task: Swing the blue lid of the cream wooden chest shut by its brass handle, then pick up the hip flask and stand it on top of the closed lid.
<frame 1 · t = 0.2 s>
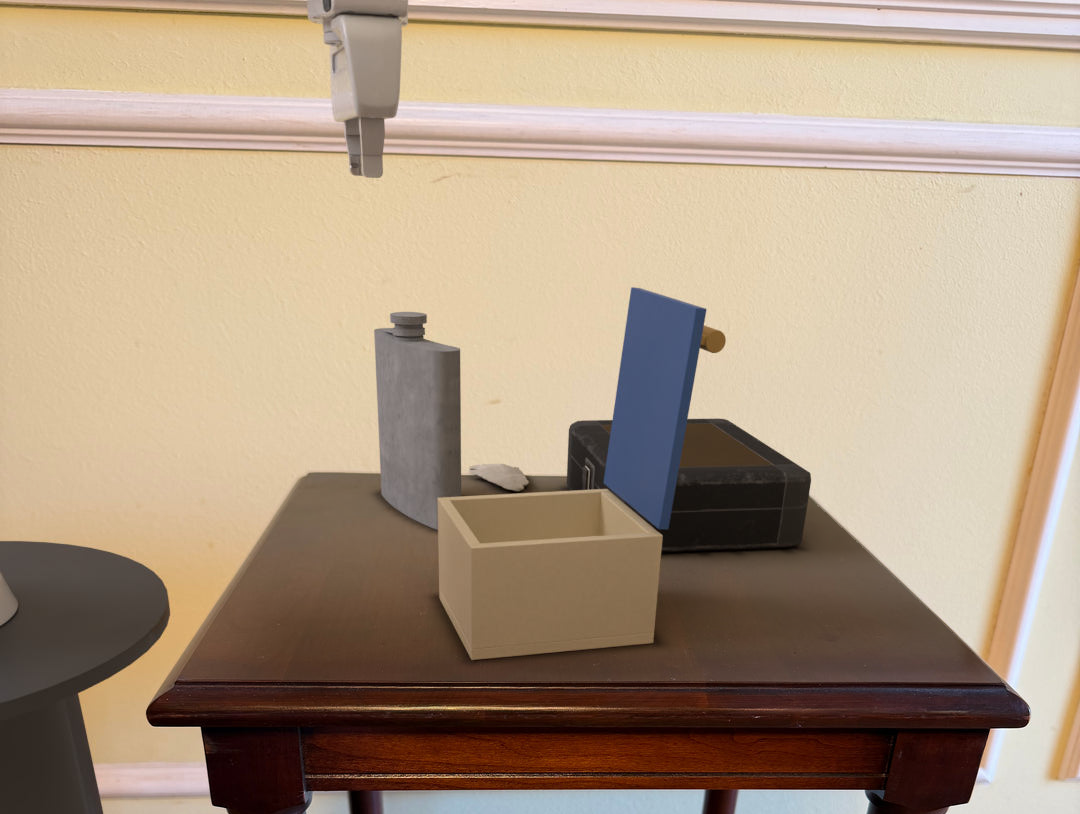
hand: (365, 176, 97), 32 cm above the table, tool pointing down, fingers open, 8 cm apart
chest: (541, 620, 85), on the table
arrowhead: (503, 483, 121), on the table
cash box: (672, 517, 111), on the table
hip flask: (416, 511, 110), on the table
lid: (671, 407, 79), point 17 cm above the table, hinge at 95.0°
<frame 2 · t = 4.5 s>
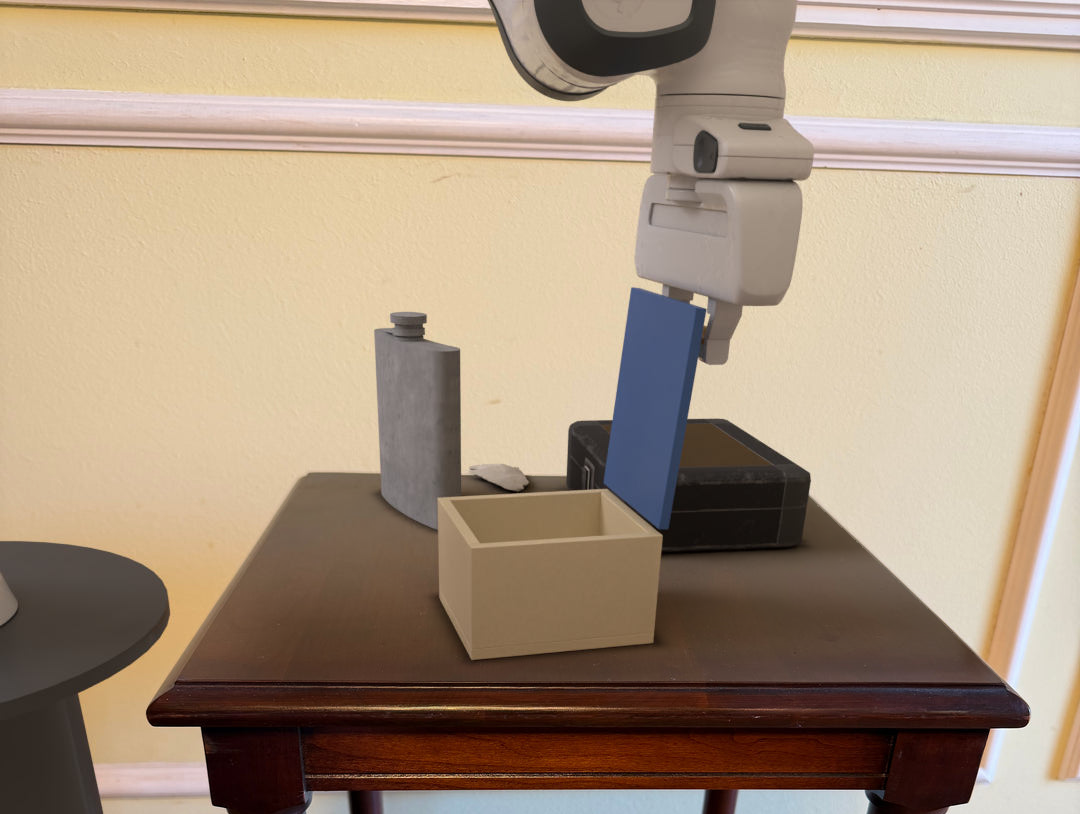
hand: (694, 356, 78), 21 cm above the table, tool pointing down, fingers closed on lid, 5 cm apart
lid: (671, 407, 79), point 17 cm above the table, hinge at 95.0°, touching gripper
everything else where it was.
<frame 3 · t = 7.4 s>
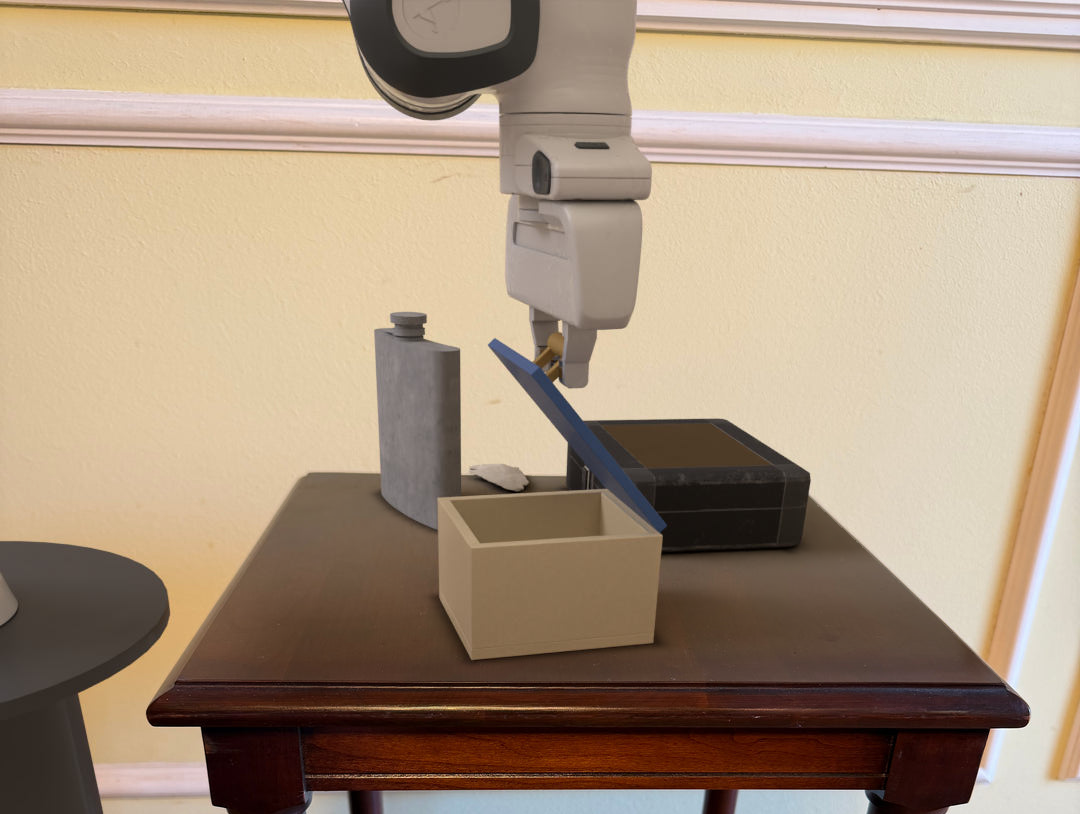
hand: (560, 378, 76), 19 cm above the table, tool pointing down, fingers closed on lid, 5 cm apart
lid: (594, 416, 78), point 16 cm above the table, hinge at 48.4°, touching gripper
everything else where it was.
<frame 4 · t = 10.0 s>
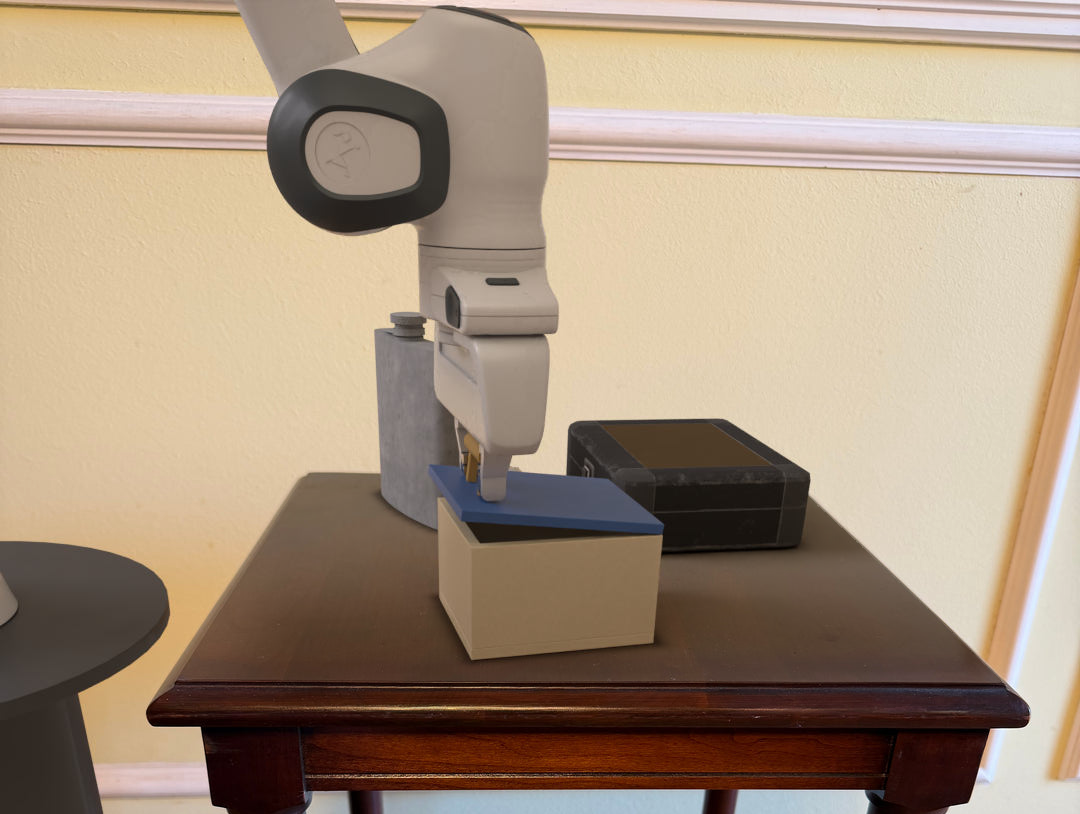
hand: (481, 486, 78), 11 cm above the table, tool pointing down, fingers open, 5 cm apart
lid: (545, 474, 79), point 12 cm above the table, hinge at 7.1°
everything else where it was.
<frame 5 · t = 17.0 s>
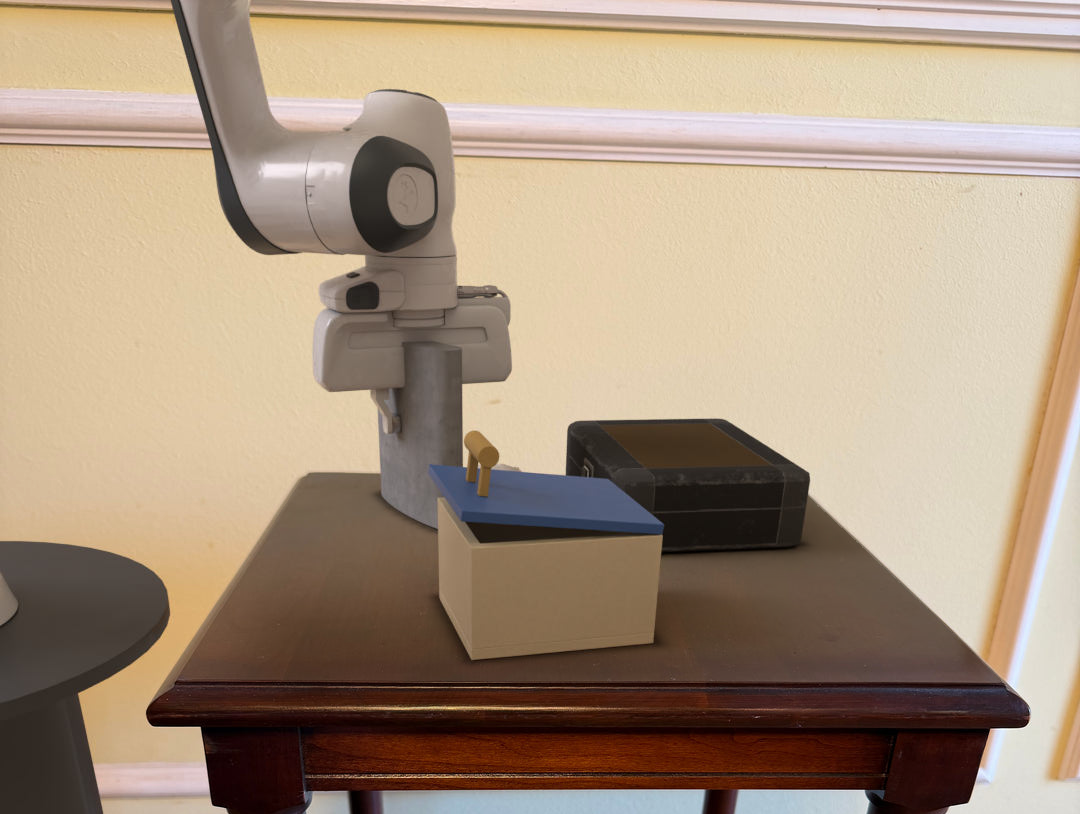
hand: (417, 430, 106), 9 cm above the table, tool pointing down, fingers closed on hip flask, 4 cm apart
hip flask: (417, 512, 110), on the table, touching arm, gripper
everything else where it was.
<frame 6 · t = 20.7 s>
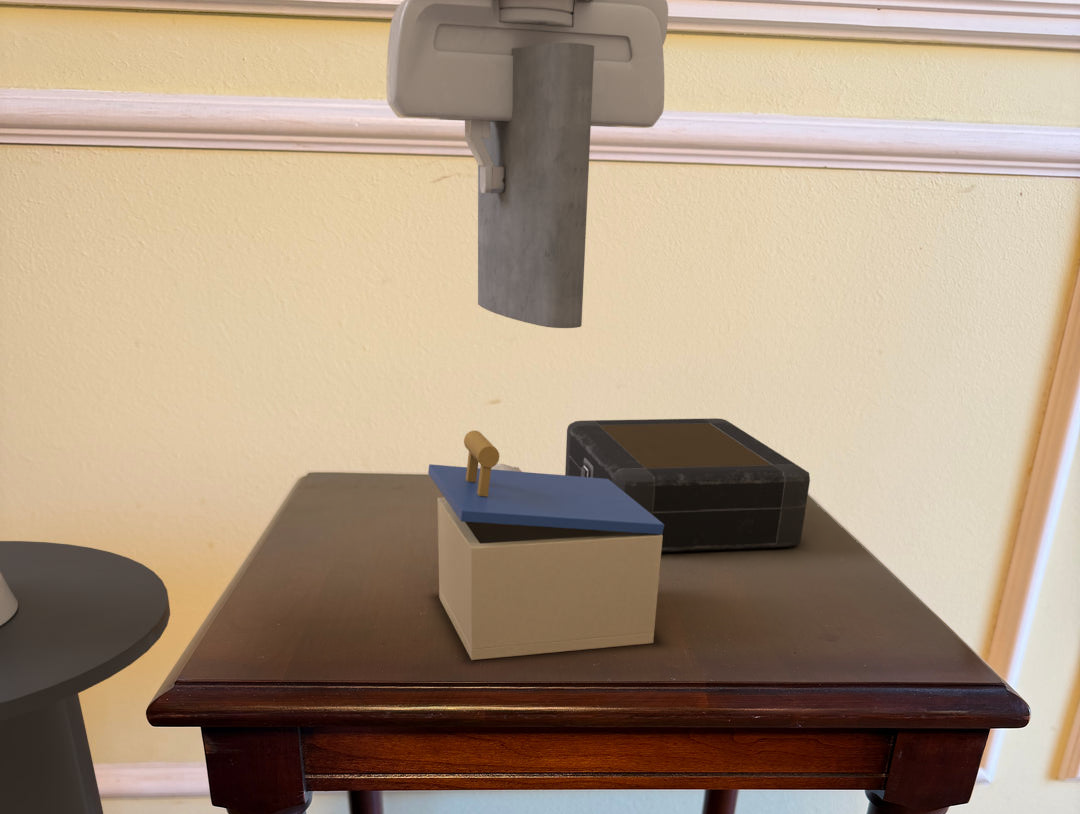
hand: (526, 194, 77), 31 cm above the table, tool pointing down, fingers closed on hip flask, 4 cm apart
hip flask: (521, 317, 81), point 22 cm above the table, touching arm, gripper
everything else where it was.
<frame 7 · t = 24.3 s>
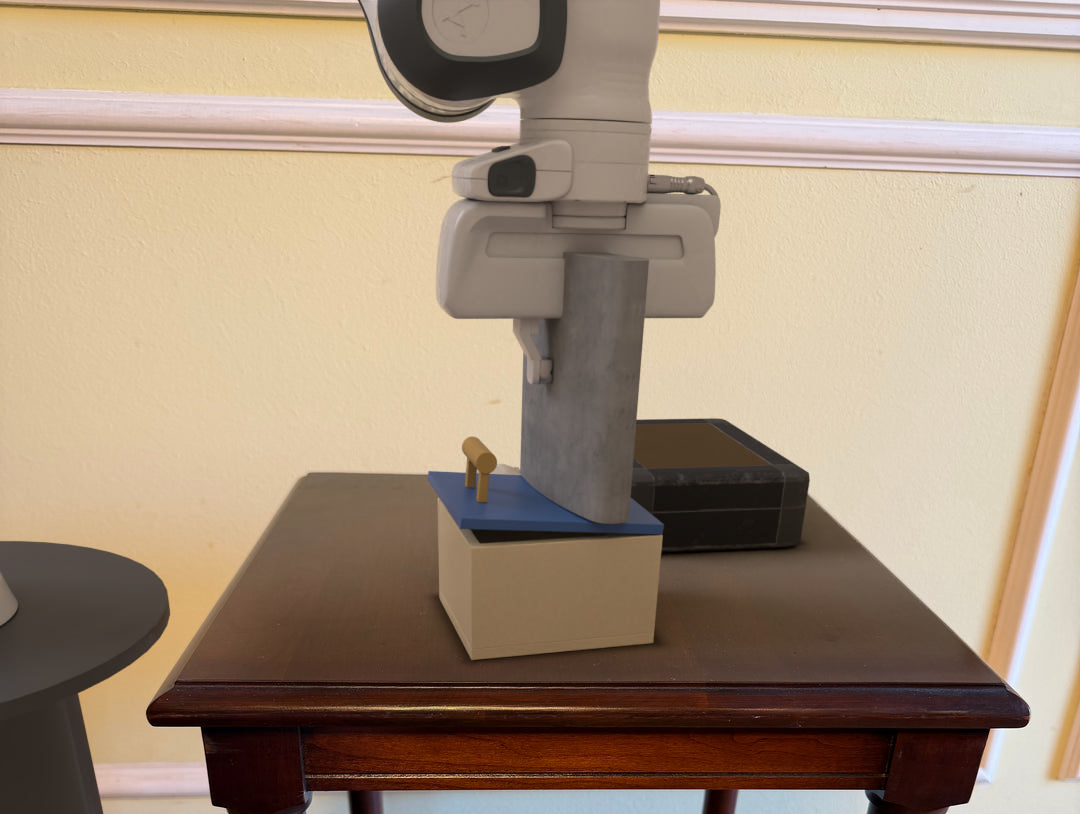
hand: (573, 382, 76), 19 cm above the table, tool pointing down, fingers closed on hip flask, 4 cm apart
hip flask: (565, 497, 80), point 10 cm above the table, touching arm, gripper
lid: (544, 477, 79), point 12 cm above the table, hinge at 5.1°
everything else where it was.
when the fingers open (19 cm above the table, at t = 24.4 s): hip flask stays where it is, resting on lid.
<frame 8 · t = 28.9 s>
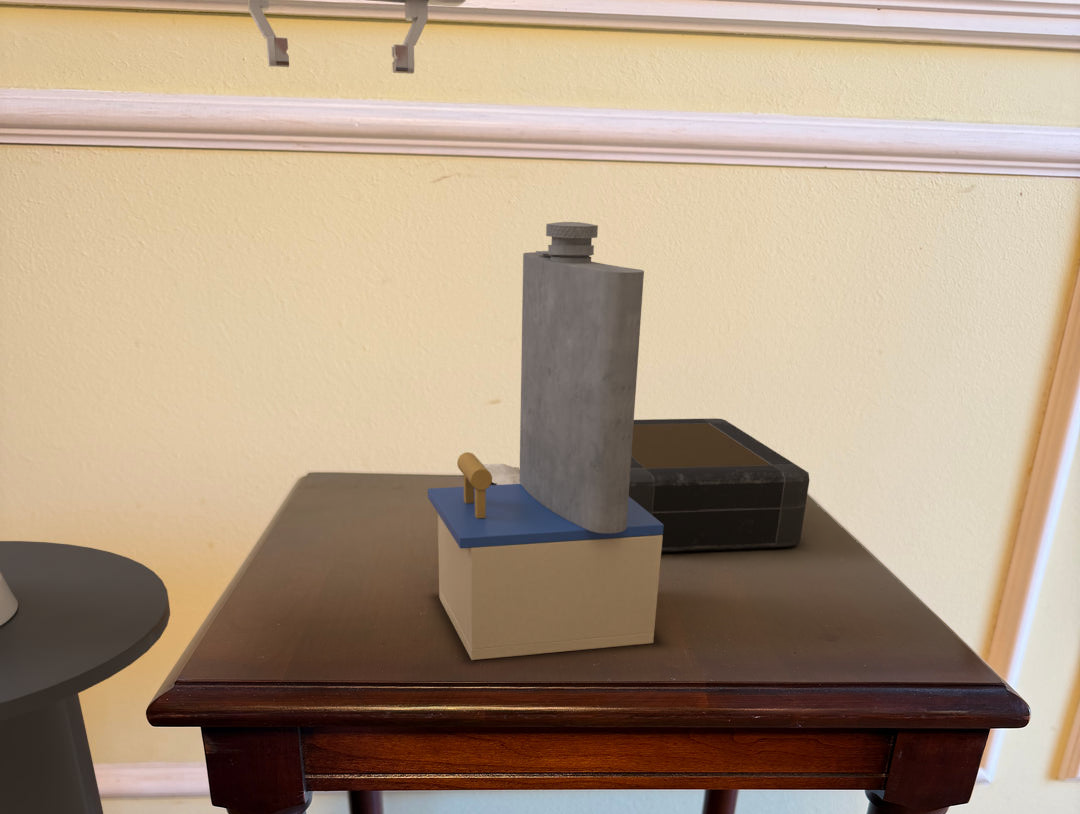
hand: (342, 70, 78), 39 cm above the table, tool pointing down, fingers open, 8 cm apart
hip flask: (564, 505, 81), point 10 cm above the table, touching lid
lid: (541, 486, 79), point 11 cm above the table, hinge at -0.2°, touching chest, hip flask
everything else where it was.
at the end: lid at +0° (first picture: +95°); hip flask inside the target area on the chest (0.4 cm from its centre), point 9.5 cm above the chest's base; hip flask tilted 0° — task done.
